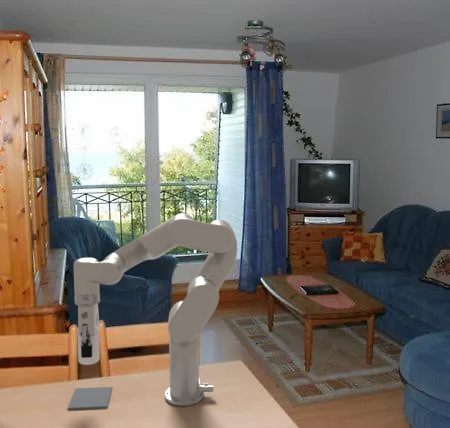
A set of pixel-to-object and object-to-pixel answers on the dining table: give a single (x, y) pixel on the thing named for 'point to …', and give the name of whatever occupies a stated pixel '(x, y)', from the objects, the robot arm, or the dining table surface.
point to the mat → (90, 398)
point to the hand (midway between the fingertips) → (88, 351)
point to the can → (95, 350)
